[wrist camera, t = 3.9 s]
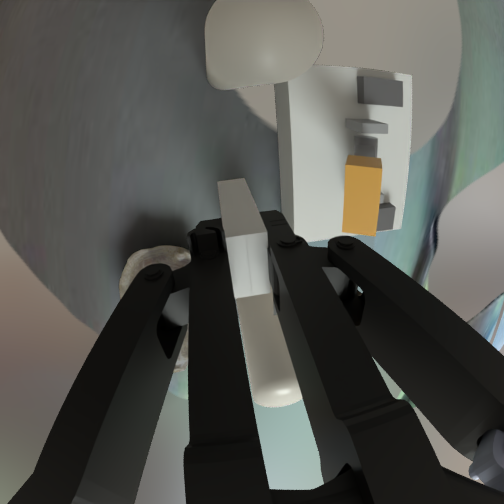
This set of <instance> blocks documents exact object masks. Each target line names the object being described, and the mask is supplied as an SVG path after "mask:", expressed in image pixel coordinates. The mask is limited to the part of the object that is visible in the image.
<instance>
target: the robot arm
mask: <svg viewBox="0 0 504 504" xmlns="http://www.w3.org/2000/svg"><path fill="white" fill-rule="evenodd" d="M217 184H218V193H219V201H220V209H221V217H222V218H219V219H212V220H205V221H200V222H199V224H198V225H197V226H196V229H193V230H192V231H190V232H189V233H188V235H187V241H188V246H189V251H190V255H191V262H190V263H189V264H187V265H185V266H184V267H181V268H179V269H176V270H173V271H172V269H171V267H170V266H169V265H167V264H162V263H157V264H151V265H148V266H146V267H145V268H143V269H141V270H140V271H139V272H138V273H137V275H136V276H135V278H134V279H133V281H132V282H131V284H130V286H129V287H128V289H127V290H126V292H125V294H124V295H123V297H122V298H121V300H120V302H119V303H118V305H117V307H116V308H115V310H114V311H113V313H112V315H111V316H110V318H109V320H108V322H107V323H106V325H105V327H104V328H103V330H102V332H101V333H100V335H99V337H98V339H97V341H96V342H95V344H94V346H93V348H92V349H91V352H90V353H89V355H88V357H87V358H86V360H85V362H84V364H83V366H82V368H81V370H80V372H79V373H78V375H77V378H76V379H75V381H74V383H73V385H72V387H71V389H70V391H69V393H68V395H67V397H66V399H65V401H64V403H63V405H62V407H61V409H60V411H59V414H58V416H57V418H56V420H55V422H54V425H53V427H52V429H51V431H50V433H49V436H48V438H47V440H46V443H45V445H44V447H43V450H42V452H41V455H40V457H39V460H38V462H37V465H36V467H35V470H34V472H33V474H32V475H31V476H30V477H29V479H28V480H27V481H26V482H25V483H24V485H23V486H22V487H21V488H20V489H19V491H18V492H17V493H16V494H15V495H14V496H13V498H12V499H11V500H10V501H9V502H8V504H134V503H135V499H136V495H137V492H138V487H139V484H140V481H141V477H142V473H143V470H144V466H145V463H146V459H147V456H148V452H149V449H150V446H151V442H152V439H153V435H154V432H155V429H156V425H157V422H158V419H159V415H160V412H161V409H162V406H163V403H164V400H165V396H166V393H167V390H168V387H169V384H170V381H171V378H172V374H173V371H174V368H175V365H176V362H177V359H178V356H179V353H180V350H181V347H182V344H183V341H184V338H185V335H186V332H187V329H188V400H189V431H190V441H189V444H188V445H187V447H185V451H184V480H185V493H186V504H504V356H503V355H502V354H501V353H500V352H499V351H498V350H497V349H496V348H495V347H493V346H492V345H491V344H490V343H489V342H488V341H487V340H486V339H485V338H483V337H482V336H481V335H480V334H479V333H478V332H477V331H476V330H474V329H473V328H472V327H471V326H470V325H469V324H467V323H466V322H465V321H464V320H462V318H460V317H459V316H458V315H457V314H456V313H454V312H453V311H452V310H451V309H449V308H448V307H447V306H446V305H444V304H443V303H442V302H441V301H440V300H438V299H437V298H436V297H435V296H434V295H432V294H431V293H429V292H428V291H427V290H426V289H425V288H423V287H422V286H421V285H420V284H418V283H417V282H416V281H414V280H413V279H412V278H410V277H409V276H408V275H407V274H405V273H404V272H403V271H401V270H400V269H399V268H397V267H396V266H395V265H393V264H392V263H391V262H389V261H388V260H386V259H385V258H384V257H382V256H381V255H380V254H378V253H377V252H375V251H374V250H373V249H371V248H370V247H368V246H367V245H366V244H364V243H363V242H361V241H360V240H358V239H356V238H354V237H350V236H346V235H345V236H344V235H342V236H336V237H334V238H331V239H330V240H329V241H328V248H326V247H312V246H309V245H308V244H307V242H306V240H305V239H304V238H302V237H300V236H298V235H295V234H294V232H293V230H292V229H291V227H290V225H289V224H288V222H287V220H286V218H285V217H284V215H283V214H282V213H280V212H279V211H277V210H272V211H264V212H259V211H258V209H257V206H256V204H255V201H254V199H253V197H252V194H251V192H250V190H249V187H248V185H247V183H246V180H245V178H240V179H232V180H224V181H217ZM270 284H271V285H270ZM358 286H359V287H360V288H361V289H362V291H363V293H361V292H359V291H358V290H357V288H358ZM271 287H272V290H273V309H274V315H278V319H279V322H280V325H281V328H282V332H283V335H284V338H285V341H286V345H287V348H288V351H289V355H290V358H291V361H292V364H293V368H294V371H295V374H296V378H297V381H298V384H299V388H300V391H301V394H302V398H303V401H304V404H305V407H306V411H307V414H308V418H309V421H310V424H311V428H312V431H313V434H314V437H315V441H316V444H317V447H318V451H319V455H320V461H321V472H322V477H323V481H324V484H323V485H321V486H319V487H317V488H315V489H311V490H275V489H269V484H268V479H267V475H266V469H265V465H264V460H263V455H262V449H261V444H260V439H259V434H258V429H257V424H256V419H255V414H254V408H253V403H252V397H251V392H250V387H249V380H248V375H247V369H246V364H245V357H244V352H243V346H242V340H241V334H240V328H239V322H238V316H237V310H236V303H235V298H241V297H248V296H254V295H261V294H267V293H271ZM372 357H373V358H374V359H375V360H376V361H377V362H378V364H379V365H380V366H381V367H382V368H383V369H384V370H385V371H386V373H388V375H389V376H390V377H391V378H392V379H393V380H394V382H396V384H397V385H398V386H399V387H400V388H401V389H402V391H403V392H404V393H405V394H406V395H407V396H408V397H409V399H410V400H411V401H412V402H413V403H414V404H415V405H416V407H417V408H418V409H419V410H420V411H421V412H422V413H423V415H424V416H425V417H426V418H427V419H428V420H429V421H430V423H431V424H432V425H433V426H434V427H435V428H436V430H437V431H438V432H439V433H440V434H441V435H442V436H443V438H445V440H446V441H447V442H448V443H449V444H450V445H451V446H452V447H453V448H454V449H456V450H457V451H458V452H459V453H461V454H462V455H463V456H465V457H466V458H468V459H470V460H471V461H473V463H472V464H471V465H470V467H469V475H470V477H471V478H472V479H474V480H476V479H480V480H481V481H482V482H483V483H484V485H483V484H481V483H478V482H476V481H474V480H471V479H469V478H467V477H464V476H462V475H460V474H457V473H455V472H453V471H451V470H449V469H446V468H444V467H442V466H441V465H440V462H439V460H438V458H437V456H436V454H435V452H434V449H433V447H432V445H431V443H430V441H429V439H428V437H427V435H426V433H425V431H424V429H423V427H422V425H421V423H420V421H419V419H418V417H417V415H416V413H415V411H414V409H413V408H412V406H411V405H410V404H409V403H408V402H407V401H405V400H401V399H395V398H394V397H393V396H392V395H391V393H390V391H389V389H388V387H387V385H386V383H385V381H384V379H383V377H382V376H381V373H380V372H379V370H378V368H377V366H376V364H375V362H374V360H373V358H372Z"/></svg>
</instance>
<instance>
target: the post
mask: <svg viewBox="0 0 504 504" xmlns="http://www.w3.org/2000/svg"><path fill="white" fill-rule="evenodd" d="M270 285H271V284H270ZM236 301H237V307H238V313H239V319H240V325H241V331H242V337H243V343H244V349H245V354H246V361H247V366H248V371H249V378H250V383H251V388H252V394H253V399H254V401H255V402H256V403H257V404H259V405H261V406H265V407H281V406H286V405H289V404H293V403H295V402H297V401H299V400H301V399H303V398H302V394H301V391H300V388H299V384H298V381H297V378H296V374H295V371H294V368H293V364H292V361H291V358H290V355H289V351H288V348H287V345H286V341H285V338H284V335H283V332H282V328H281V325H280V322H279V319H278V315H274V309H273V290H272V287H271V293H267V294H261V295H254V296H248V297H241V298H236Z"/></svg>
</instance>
